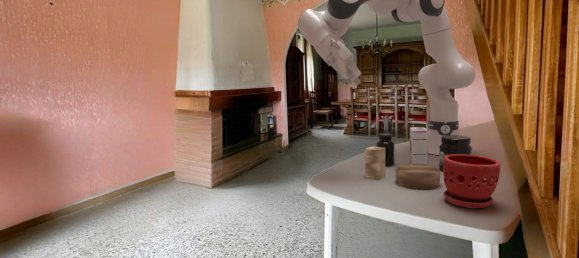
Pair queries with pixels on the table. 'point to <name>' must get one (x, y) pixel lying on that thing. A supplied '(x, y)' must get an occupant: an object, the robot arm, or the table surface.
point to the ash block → (375, 162)
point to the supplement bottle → (387, 148)
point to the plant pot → (470, 180)
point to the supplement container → (454, 147)
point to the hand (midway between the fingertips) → (359, 79)
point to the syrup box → (418, 145)
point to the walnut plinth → (418, 176)
